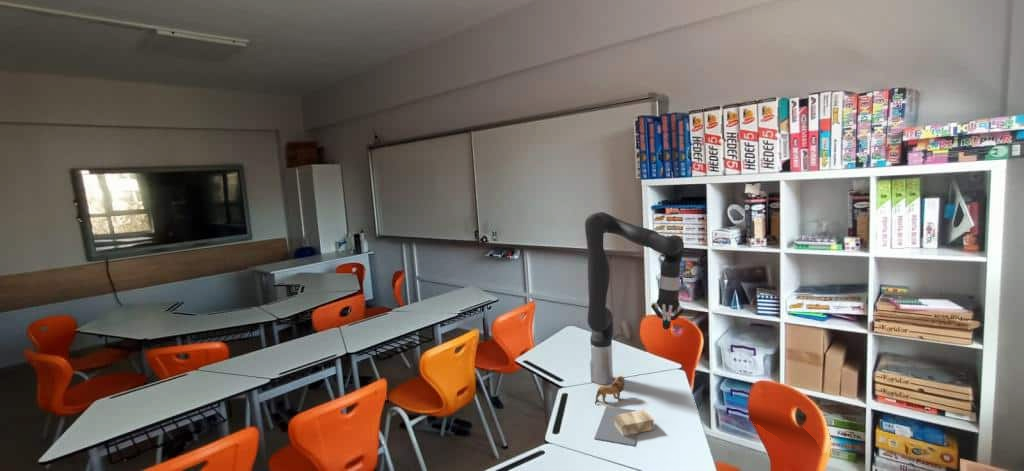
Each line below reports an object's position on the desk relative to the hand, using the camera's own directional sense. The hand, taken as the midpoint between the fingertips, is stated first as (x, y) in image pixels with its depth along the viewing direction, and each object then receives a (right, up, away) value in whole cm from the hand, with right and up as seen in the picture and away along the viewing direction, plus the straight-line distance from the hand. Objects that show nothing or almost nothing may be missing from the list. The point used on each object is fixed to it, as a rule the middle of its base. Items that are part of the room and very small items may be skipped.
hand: (666, 328), depth 182 cm
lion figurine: (-21, -31, +7) cm, 38 cm away
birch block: (-11, -31, -13) cm, 35 cm away
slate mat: (-21, -33, -11) cm, 41 cm away
